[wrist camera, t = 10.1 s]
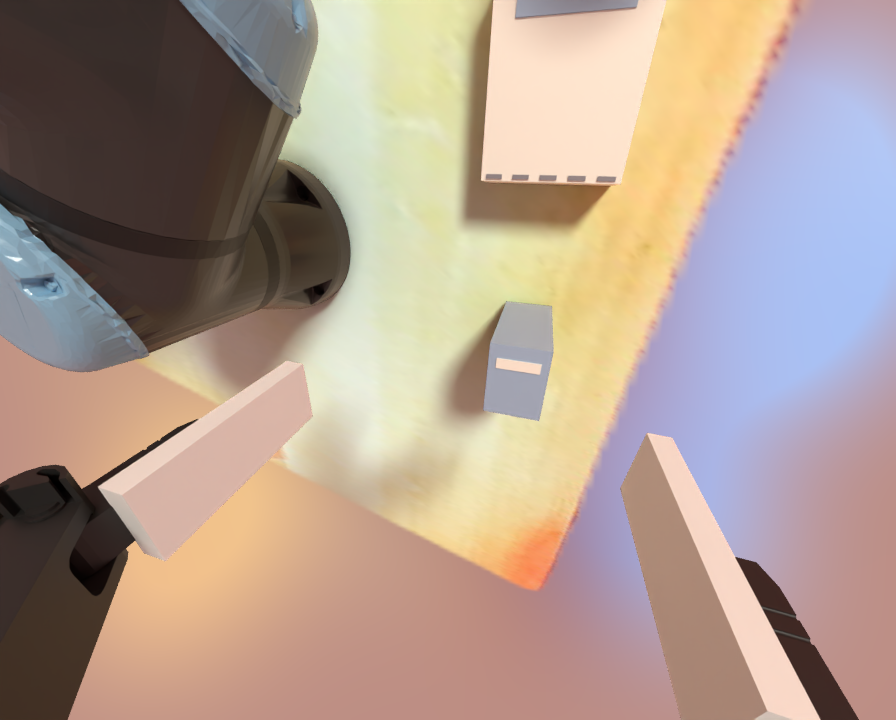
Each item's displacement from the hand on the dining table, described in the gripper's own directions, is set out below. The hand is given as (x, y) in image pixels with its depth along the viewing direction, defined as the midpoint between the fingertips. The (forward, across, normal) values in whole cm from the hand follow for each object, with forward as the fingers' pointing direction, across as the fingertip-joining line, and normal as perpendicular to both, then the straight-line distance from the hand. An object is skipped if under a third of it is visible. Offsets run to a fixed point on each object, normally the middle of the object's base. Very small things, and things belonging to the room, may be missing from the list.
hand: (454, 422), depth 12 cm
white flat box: (+22, +2, +15) cm, 27 cm away
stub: (+22, +2, -5) cm, 23 cm away
